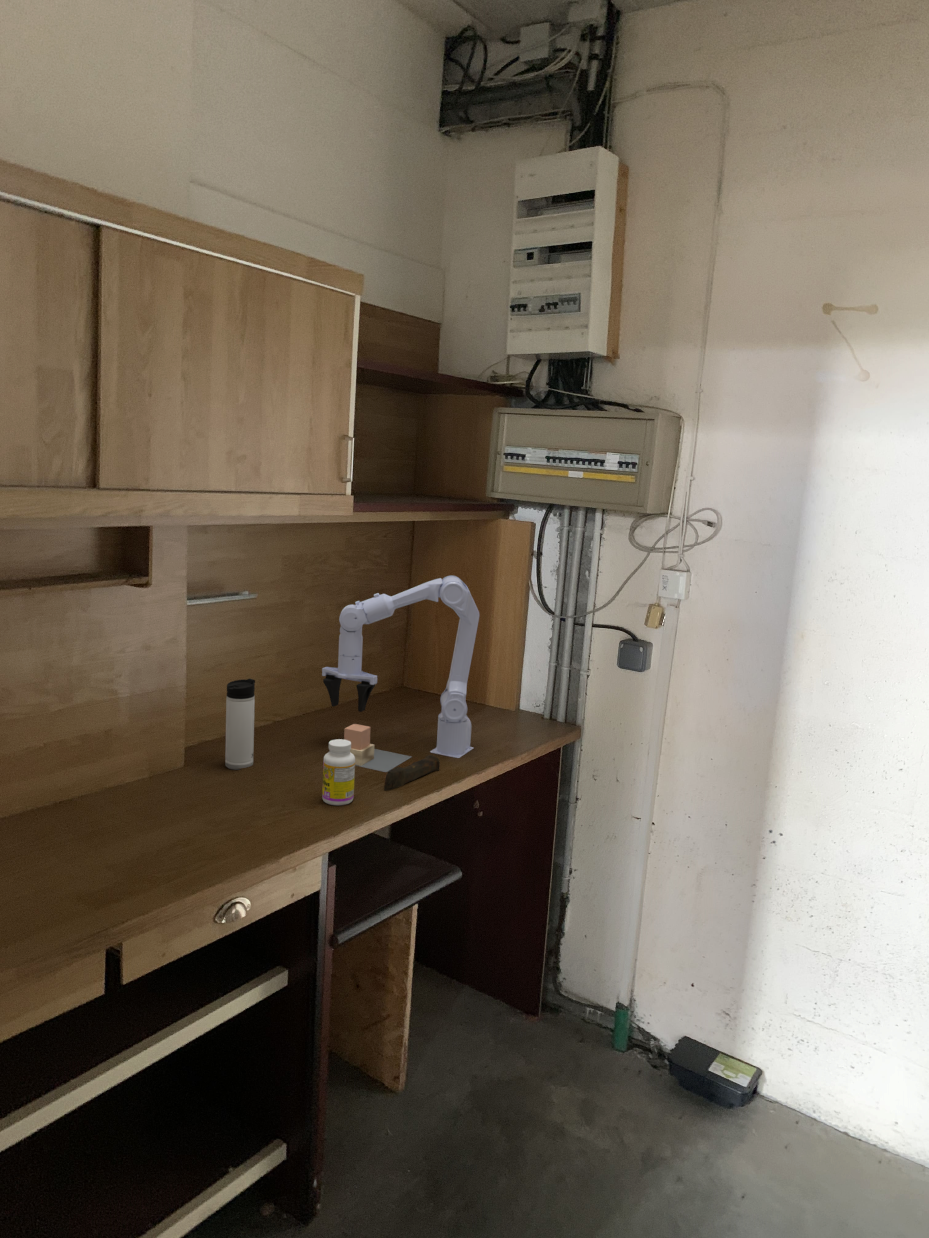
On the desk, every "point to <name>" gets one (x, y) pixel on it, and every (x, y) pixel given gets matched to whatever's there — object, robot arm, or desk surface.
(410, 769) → the hand tool
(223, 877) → the desk surface
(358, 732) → the terracotta cube
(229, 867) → the desk surface
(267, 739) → the desk surface
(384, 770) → the rubber mat
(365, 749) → the beech block
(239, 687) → the travel mug
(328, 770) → the supplement bottle
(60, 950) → the desk surface
